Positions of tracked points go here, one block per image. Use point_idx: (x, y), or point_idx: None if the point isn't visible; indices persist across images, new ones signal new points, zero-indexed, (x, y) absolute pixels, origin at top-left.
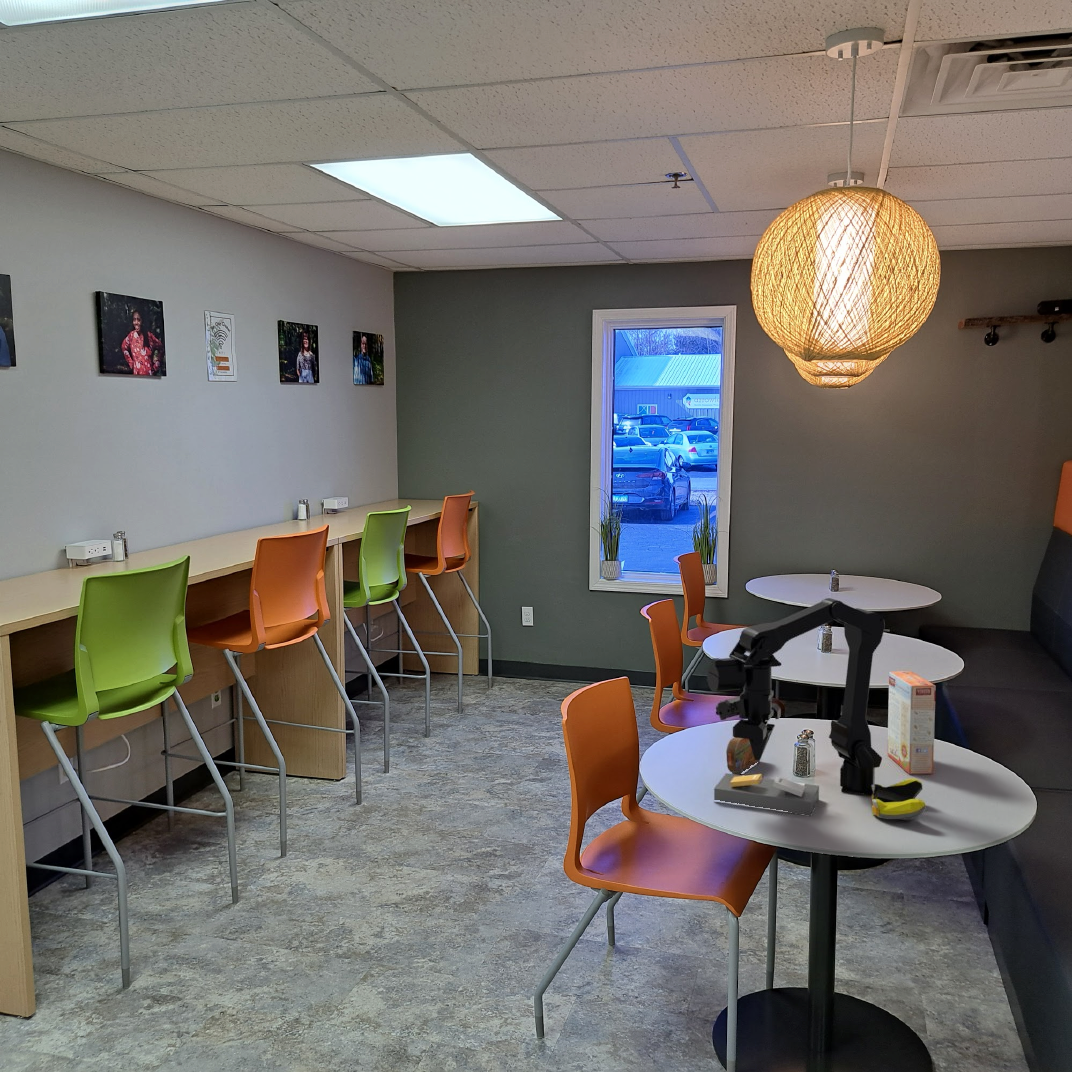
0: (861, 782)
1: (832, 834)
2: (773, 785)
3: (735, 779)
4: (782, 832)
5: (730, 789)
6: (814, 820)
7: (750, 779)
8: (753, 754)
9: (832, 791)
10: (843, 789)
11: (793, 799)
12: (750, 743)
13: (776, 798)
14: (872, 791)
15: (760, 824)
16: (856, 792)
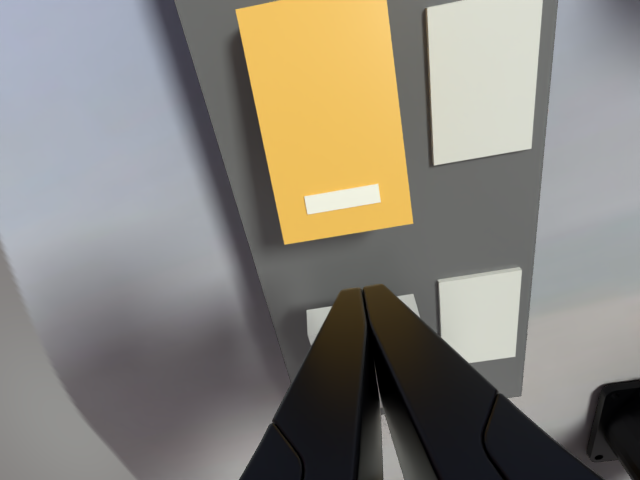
0: (627, 472)
1: (204, 451)
2: (307, 316)
3: (306, 32)
4: (95, 350)
5: (210, 30)
6: (277, 391)
7: (289, 184)
8: (322, 328)
9: (606, 358)
10: (618, 393)
11: (289, 373)
12: (243, 475)
13: (268, 307)
14: (616, 458)
15: (94, 266)
16: (596, 427)
